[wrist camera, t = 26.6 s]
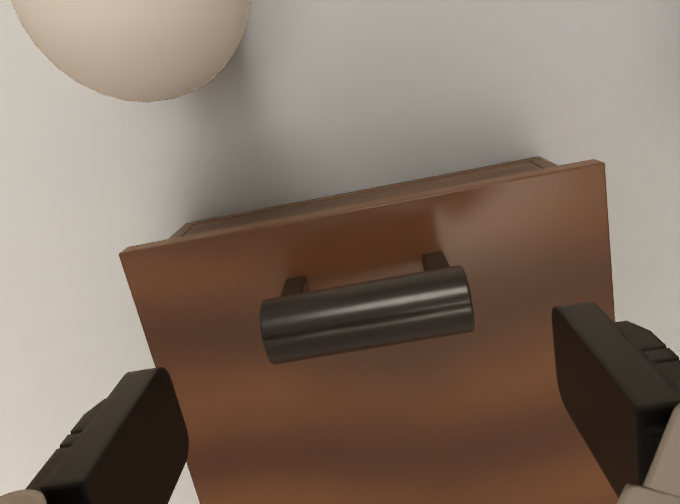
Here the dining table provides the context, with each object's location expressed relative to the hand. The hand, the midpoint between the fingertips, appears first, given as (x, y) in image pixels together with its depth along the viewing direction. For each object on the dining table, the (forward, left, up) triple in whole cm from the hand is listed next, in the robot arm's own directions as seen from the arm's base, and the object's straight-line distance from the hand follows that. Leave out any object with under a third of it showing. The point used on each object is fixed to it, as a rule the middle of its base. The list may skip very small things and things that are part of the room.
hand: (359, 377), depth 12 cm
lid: (+7, 0, -8) cm, 11 cm away
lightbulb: (-9, -4, -14) cm, 18 cm away
